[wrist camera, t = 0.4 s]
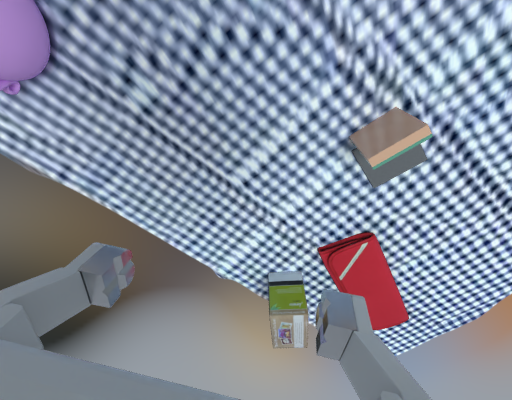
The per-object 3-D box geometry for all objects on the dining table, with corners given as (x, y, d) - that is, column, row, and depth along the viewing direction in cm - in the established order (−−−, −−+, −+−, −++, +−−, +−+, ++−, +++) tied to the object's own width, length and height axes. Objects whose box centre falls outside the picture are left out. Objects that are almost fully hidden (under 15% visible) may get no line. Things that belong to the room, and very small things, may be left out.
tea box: (302, 302, 84) (308, 349, 72) (270, 303, 85) (271, 349, 73) (302, 269, 76) (309, 316, 64) (267, 271, 77) (267, 317, 65)
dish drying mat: (360, 326, 91) (363, 336, 87) (315, 247, 72) (317, 257, 69) (407, 314, 86) (412, 324, 83) (372, 226, 68) (377, 236, 64)
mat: (351, 150, 56) (352, 152, 56) (407, 117, 52) (408, 117, 52) (373, 186, 61) (374, 188, 60) (425, 158, 57) (427, 159, 56)
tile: (349, 136, 55) (367, 159, 45) (395, 106, 51) (427, 124, 41) (354, 145, 56) (373, 169, 46) (400, 116, 52) (432, 136, 42)
